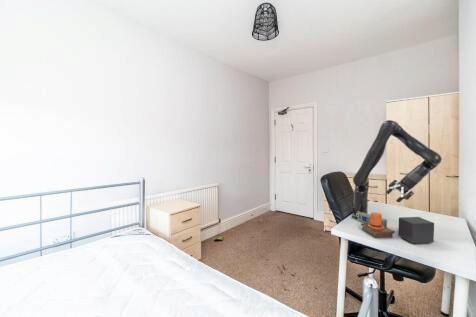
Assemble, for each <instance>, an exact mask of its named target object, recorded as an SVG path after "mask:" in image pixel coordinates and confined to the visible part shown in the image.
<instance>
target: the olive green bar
mask: <svg viewBox="0 0 476 317" xmlns="http://www.w3.org/2000/svg"><path fill="white" fill-rule="evenodd" d="M357 212H358V215H357V216H358V217H355V216H354V215H351V218H353V219H355V220H356V221H358V222H360V223H370V215H371V214H369V213H368V214H366V213H363V212H359V211H357ZM382 225H384V226H386V227H387V228H388V220H387V219H385V218H382Z"/></svg>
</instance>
